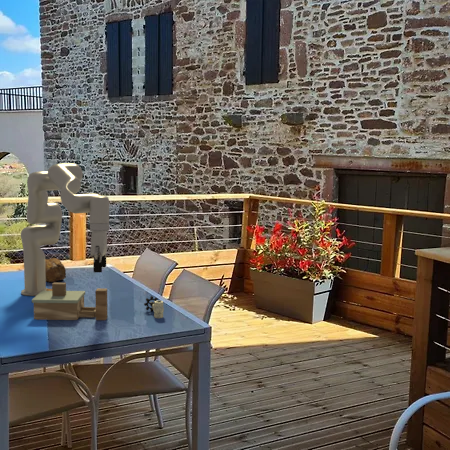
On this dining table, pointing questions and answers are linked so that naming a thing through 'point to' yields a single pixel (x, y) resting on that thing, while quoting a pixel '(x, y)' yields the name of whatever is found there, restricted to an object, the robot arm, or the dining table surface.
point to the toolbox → (62, 311)
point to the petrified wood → (54, 270)
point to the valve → (155, 307)
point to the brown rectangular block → (101, 304)
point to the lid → (58, 295)
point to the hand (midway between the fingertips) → (100, 269)
